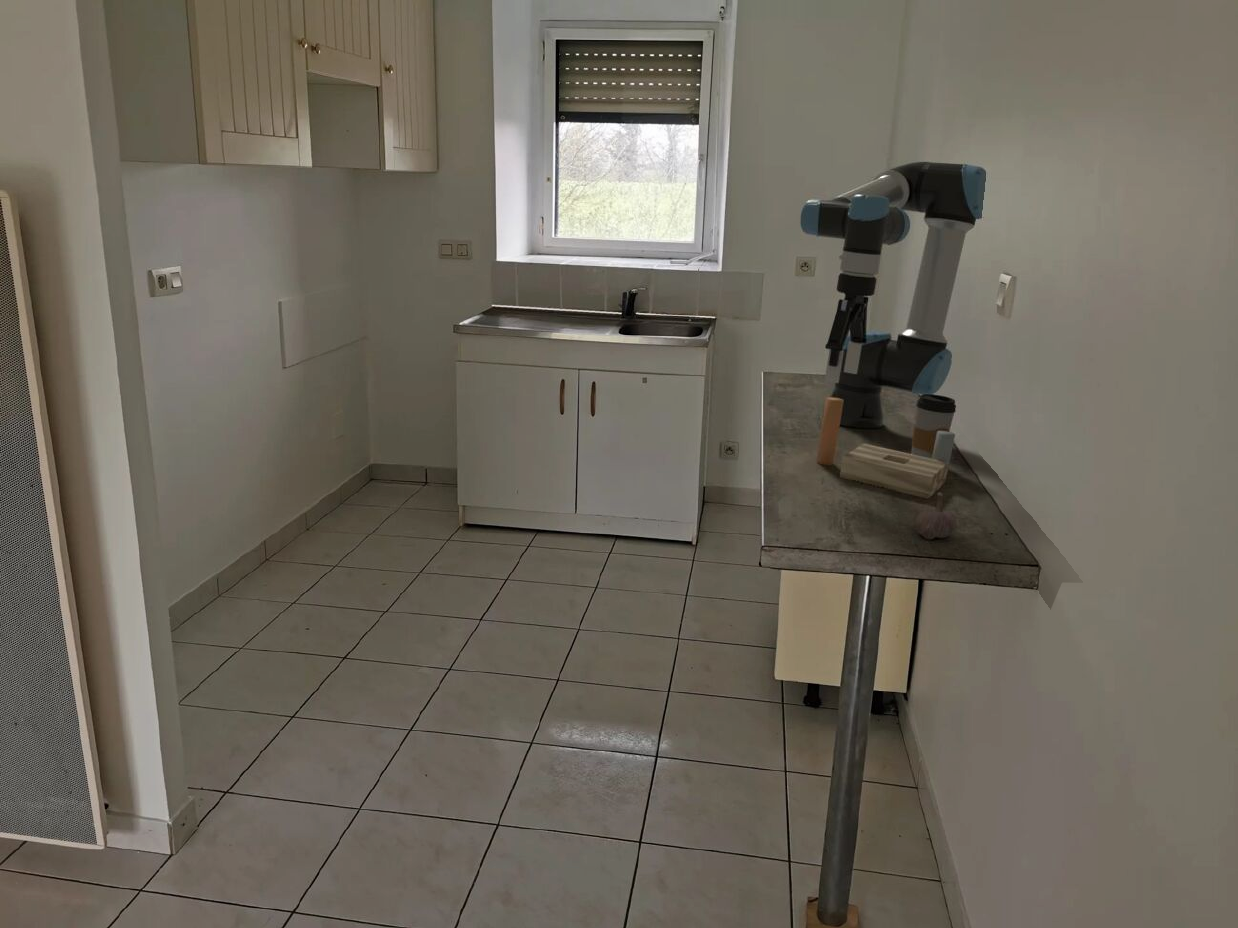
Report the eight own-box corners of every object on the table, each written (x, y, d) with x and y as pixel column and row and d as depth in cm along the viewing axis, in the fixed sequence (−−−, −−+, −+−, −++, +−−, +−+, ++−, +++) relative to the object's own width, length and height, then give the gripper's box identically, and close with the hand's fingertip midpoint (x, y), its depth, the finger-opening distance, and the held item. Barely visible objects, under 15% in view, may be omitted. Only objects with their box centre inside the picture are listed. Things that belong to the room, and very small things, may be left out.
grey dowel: (930, 475, 204) (939, 429, 202) (947, 479, 203) (956, 433, 200) (926, 478, 201) (935, 432, 199) (943, 482, 200) (952, 436, 197)
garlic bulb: (923, 543, 163) (931, 499, 161) (903, 527, 170) (911, 485, 168) (963, 544, 165) (972, 500, 163) (942, 528, 172) (950, 486, 169)
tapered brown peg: (819, 459, 208) (829, 396, 204) (835, 463, 206) (846, 399, 202) (813, 462, 205) (824, 398, 201) (829, 466, 203) (840, 402, 199)
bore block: (860, 463, 208) (863, 443, 207) (944, 483, 200) (948, 462, 198) (839, 477, 196) (843, 456, 195) (927, 498, 188) (932, 477, 187)
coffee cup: (928, 457, 218) (940, 393, 214) (952, 469, 211) (966, 402, 206) (897, 458, 215) (910, 393, 211) (921, 470, 208) (934, 402, 203)
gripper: (856, 269, 206) (840, 366, 212) (821, 274, 185) (804, 382, 191) (891, 273, 202) (874, 372, 209) (859, 279, 181) (841, 389, 187)
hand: (841, 377), depth 200 cm, fingers open, 13 cm apart
